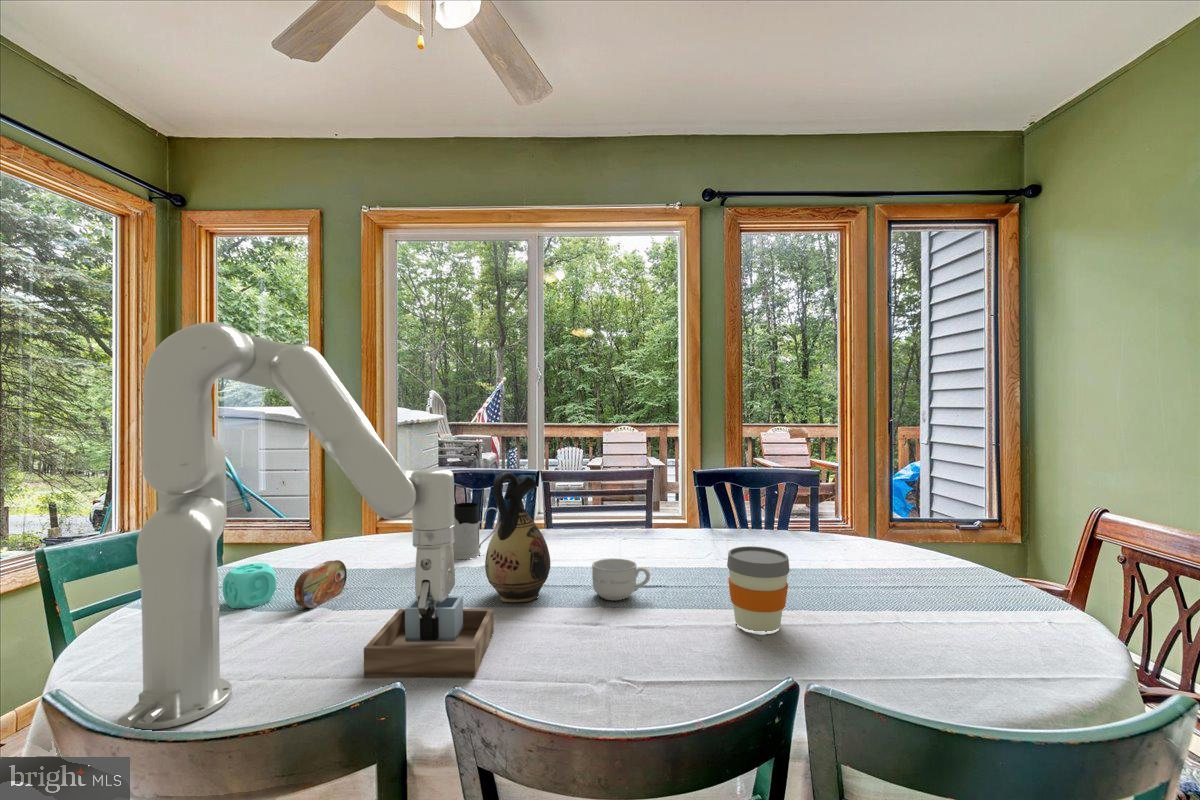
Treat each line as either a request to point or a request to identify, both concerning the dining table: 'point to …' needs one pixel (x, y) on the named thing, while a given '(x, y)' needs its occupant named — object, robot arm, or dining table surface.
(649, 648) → the dining table surface
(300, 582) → the tin
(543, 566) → the ceramic jug
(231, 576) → the decorative dice
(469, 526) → the glass holder
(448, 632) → the small crate
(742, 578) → the reusable coffee cup
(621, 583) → the teacup
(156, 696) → the robot arm
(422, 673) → the tray
